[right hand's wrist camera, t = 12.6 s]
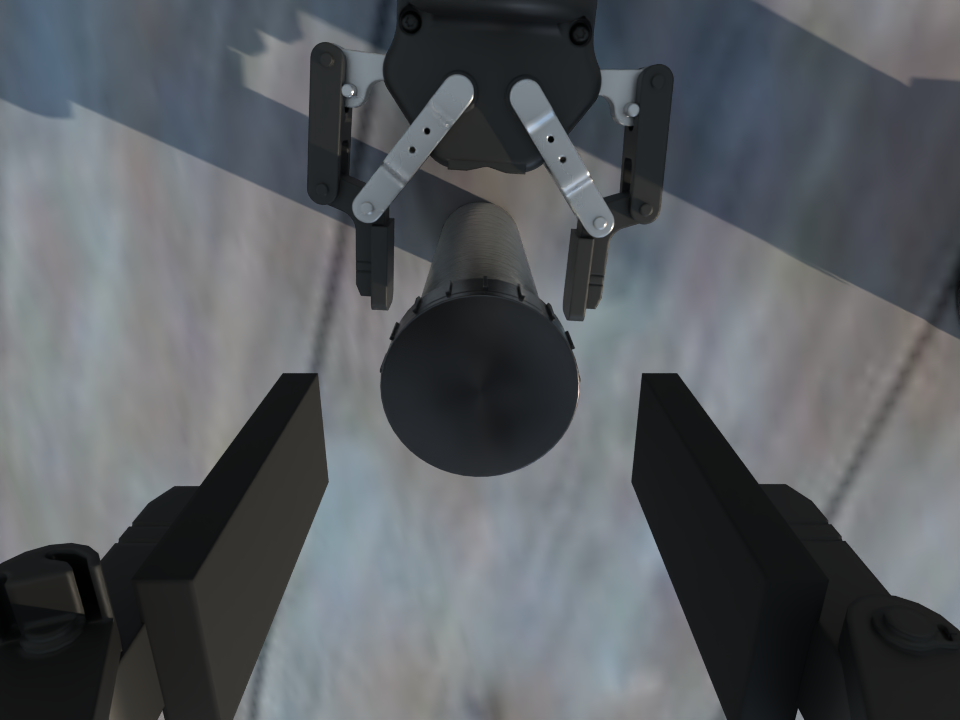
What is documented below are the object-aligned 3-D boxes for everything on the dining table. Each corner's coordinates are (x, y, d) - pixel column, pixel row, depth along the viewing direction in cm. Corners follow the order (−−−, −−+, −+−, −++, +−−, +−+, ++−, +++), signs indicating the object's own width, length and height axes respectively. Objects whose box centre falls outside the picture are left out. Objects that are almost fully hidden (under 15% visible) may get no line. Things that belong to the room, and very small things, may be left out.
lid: (613, 355, 18) (626, 380, 16) (490, 480, 19) (491, 513, 18) (468, 234, 17) (467, 248, 15) (349, 377, 18) (337, 403, 16)
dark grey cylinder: (535, 237, 34) (595, 374, 17) (484, 296, 35) (489, 482, 18) (475, 184, 33) (469, 272, 16) (424, 246, 34) (366, 393, 17)
